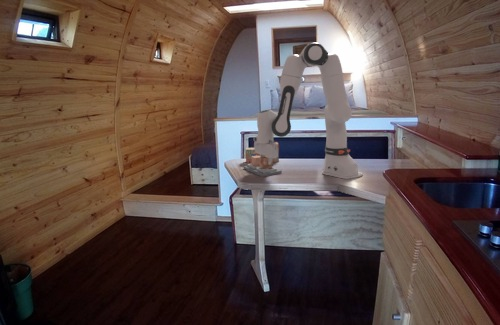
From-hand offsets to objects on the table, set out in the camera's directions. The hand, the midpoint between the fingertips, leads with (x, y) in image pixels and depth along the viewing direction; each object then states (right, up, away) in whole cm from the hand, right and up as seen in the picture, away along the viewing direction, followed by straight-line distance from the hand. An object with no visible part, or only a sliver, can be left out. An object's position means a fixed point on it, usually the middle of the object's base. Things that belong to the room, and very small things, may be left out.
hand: (266, 163), depth 179 cm
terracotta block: (0, -3, +1) cm, 3 cm away
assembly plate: (-2, -5, +6) cm, 8 cm away
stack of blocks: (-1, +1, +28) cm, 28 cm away
